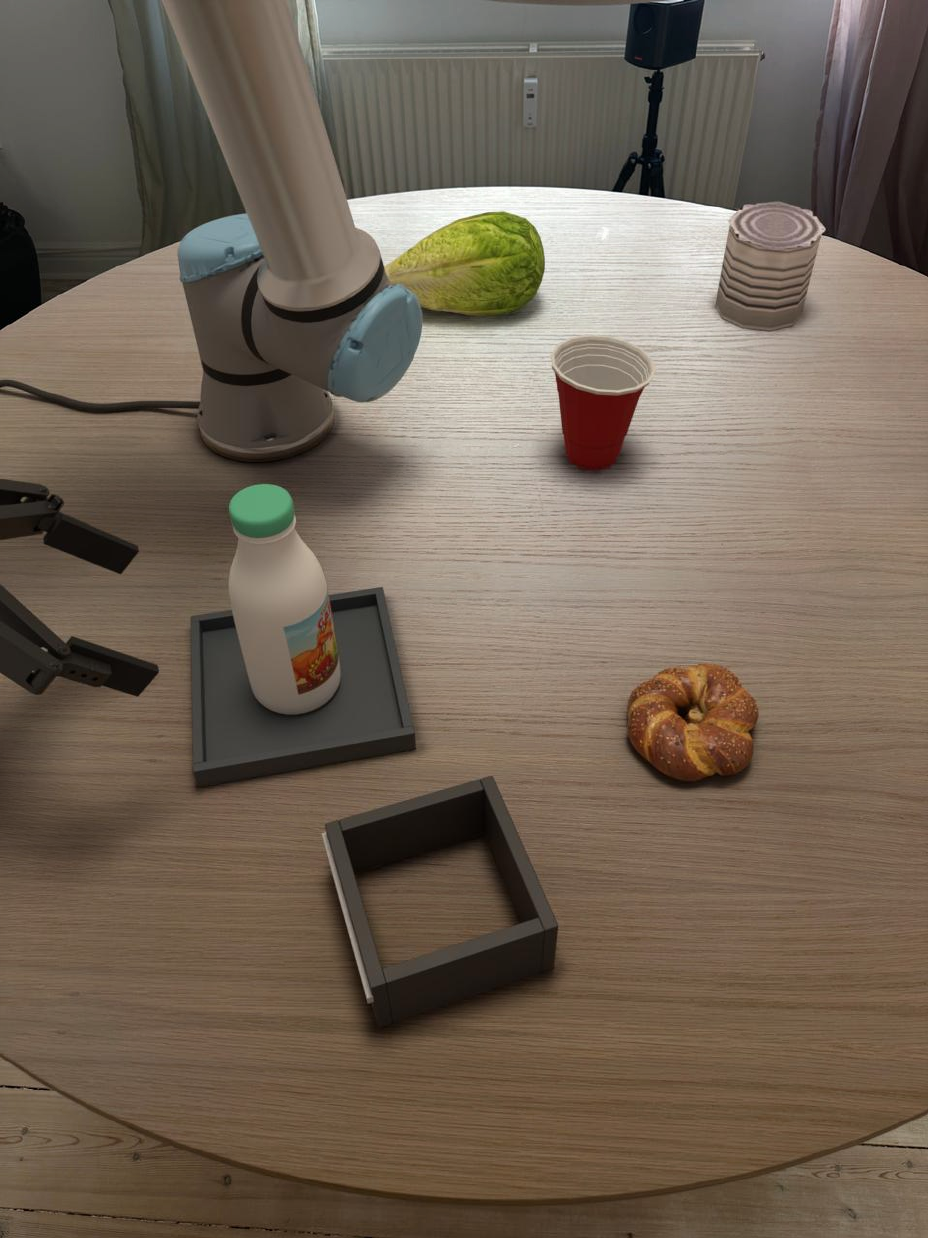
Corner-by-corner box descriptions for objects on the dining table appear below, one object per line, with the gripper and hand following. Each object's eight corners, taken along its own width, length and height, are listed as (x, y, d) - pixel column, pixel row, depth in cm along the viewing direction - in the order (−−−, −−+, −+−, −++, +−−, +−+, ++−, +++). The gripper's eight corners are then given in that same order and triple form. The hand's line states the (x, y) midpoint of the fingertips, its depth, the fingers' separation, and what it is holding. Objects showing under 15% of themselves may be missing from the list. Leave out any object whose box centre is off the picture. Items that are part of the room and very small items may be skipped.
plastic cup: (639, 490, 104) (653, 392, 95) (538, 479, 106) (542, 381, 97) (646, 432, 111) (660, 336, 103) (552, 422, 113) (557, 327, 104)
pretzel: (657, 658, 87) (662, 629, 84) (777, 705, 83) (786, 676, 80) (600, 753, 80) (604, 725, 77) (728, 810, 76) (737, 782, 73)
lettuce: (373, 239, 134) (364, 222, 121) (532, 212, 134) (540, 192, 120) (390, 336, 137) (382, 330, 124) (546, 310, 137) (555, 301, 123)
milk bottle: (269, 730, 81) (224, 548, 67) (240, 669, 86) (192, 487, 72) (355, 697, 84) (329, 514, 69) (322, 639, 89) (291, 457, 74)
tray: (195, 631, 90) (190, 615, 89) (384, 602, 93) (382, 586, 91) (198, 787, 78) (192, 771, 77) (416, 749, 81) (414, 733, 79)
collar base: (329, 869, 73) (319, 824, 69) (491, 820, 76) (492, 774, 71) (373, 1030, 64) (365, 991, 60) (554, 968, 67) (559, 926, 63)
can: (813, 302, 132) (836, 213, 123) (784, 339, 125) (806, 248, 117) (733, 282, 136) (749, 194, 128) (701, 317, 130) (716, 227, 121)
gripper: (-165, 594, 51) (188, 706, 65) (-127, 356, 67) (147, 485, 81) (-226, 687, 53) (126, 775, 67) (-175, 436, 70) (99, 548, 84)
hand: (138, 617), depth 74 cm, fingers open, 13 cm apart
